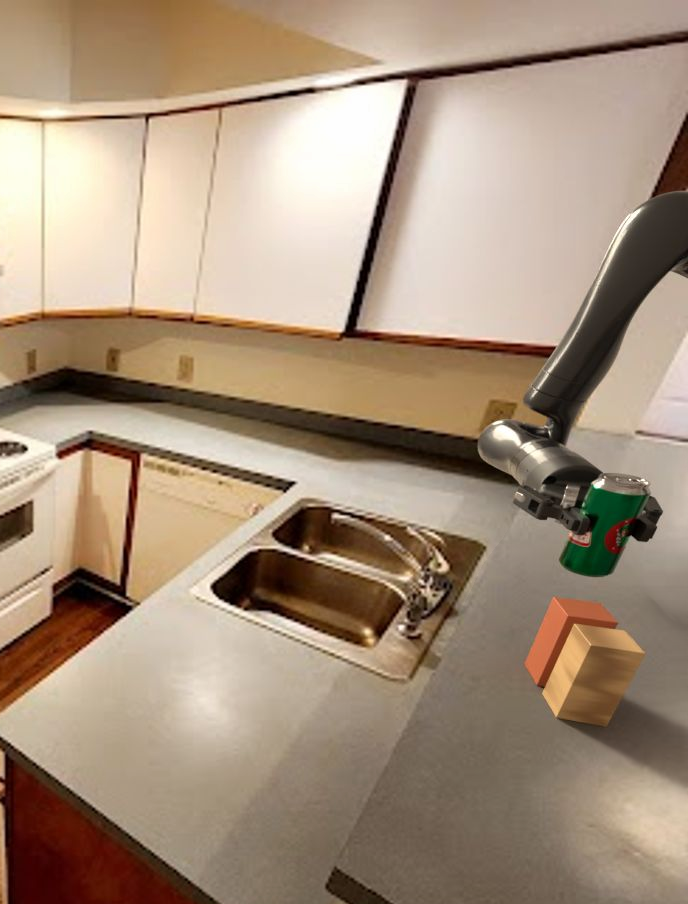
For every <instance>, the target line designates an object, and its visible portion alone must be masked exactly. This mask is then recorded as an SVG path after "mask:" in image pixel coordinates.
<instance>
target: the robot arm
mask: <svg viewBox="0 0 688 904" xmlns="http://www.w3.org/2000/svg"><path fill="white" fill-rule="evenodd" d="M669 272H673V273H675V274H676V275H680V276H681V277H684V278H686V279H688V190H675V191H670V192H669V191H668V192H664V193H662V194H658V195H656V196H654V197H652V198H649V199H648V200H646V201H644V202H642V203H640V204H639V205H638V206H637V207H636V208H635V209H633V210H632V211H631V212H630V213H629V214H628V215H627V216H626V217H625V219H624V220H623V221H622V223H621V224H620V226H619V228H618V230H617V231H616V233H615V235H614V237H613V239H612V240H611V242H610V245H609V246H608V249H607V250H606V253H605V255H604V257H603V259H602V262H601V264H600V265H599V269H598V270H597V273H596V275H595V277H594V279H593V281H592V282H591V284H590V287H589V289H588V291H587V292H586V294H585V296H584V298H583V300H582V302H581V304H580V306H579V308H578V310H577V311H576V313H575V316H574V317H573V319H572V321H571V323H570V325H569V327H568V328H567V330H566V331H565V333H564V335H563V336H562V338H561V339H560V340H559V342H558V344H557V345H556V347H555V349H554V350H553V352H552V354H551V355H550V356H549V358H548V359H547V360H546V361H545V364H543V367H541V368H540V371H539V372H538V374H537V375H536V377H535V378H534V380H532V382H531V383H530V385H529V387H528V388H527V389H526V390H525V393H524V394H523V397H522V403H523V404H524V406H525V407H526V408H528V409H529V410H530V411H532V412H535V413H537V414H539V415H541V416H543V417H545V418H547V420H546V422H544V425H539V424H534V423H531V422H530V423H529V422H524V421H520V420H515V419H510V418H509V419H507V418H506V419H505V418H504V419H499V420H496V421H493V422H492V423H489V424H488V425H487V426H486V427H485V428H484V429H483V430H482V431H481V433H480V434H479V436H478V439H477V444H476V445H477V453H478V455H479V457H480V458H481V459H482V460H483V461H484V462H485V463H487V464H488V465H491V466H492V467H493V468H496V469H497V470H500V471H502V472H504V473H506V474H508V475H510V476H512V477H513V478H514V480H516V481H517V482H518V486H517V489H516V492H515V494H514V497H513V500H512V504H513V505H515V506H516V507H518V508H519V509H521V510H522V511H524V512H525V513H527V514H528V515H530V516H532V518H535V519H536V520H539V521H548V518H549V519H553V520H554V521H553V522H554V523H556V524H559V525H562V526H563V527H564V529H567V530H568V531H569V532H570V531H572V532H573V533H574V534H575V535H582V536H583V535H585V533H586V530H587V528H588V526H589V524H590V519H589V518H588V517H587V516H586V515H585V514H584V513H583V512H582V511H581V510H580V508H581V505H582V503H583V501H584V498H585V496H586V493H587V491H588V489H589V486H590V484H591V482H593V481H594V480H596V479H597V478H598V476H599V475H600V474H603V473H604V472H603V471H602V470H600V469H599V467H597V466H595V465H594V464H593V463H591V462H590V461H589V460H587V459H586V458H585V457H584V456H582V455H581V454H580V453H577V452H575V451H572V450H571V449H570V448H568V447H567V444H568V441H569V438H570V435H571V433H572V429H573V427H574V424H575V422H576V420H577V419H578V416H579V414H580V412H581V410H582V408H583V406H584V405H585V404H586V403H587V401H588V400H589V399H590V397H591V396H592V395H593V393H594V392H595V391H596V389H597V388H598V387H599V385H600V384H601V383H602V382H603V380H604V379H605V378H606V376H607V375H608V373H609V372H610V370H611V368H612V367H613V365H614V362H615V361H616V360H617V358H618V355H619V352H620V350H621V347H622V344H623V342H624V339H625V336H626V333H627V332H628V329H629V326H630V324H631V322H632V320H633V318H634V317H635V315H636V313H637V312H638V310H639V308H640V307H641V306H642V304H643V303H644V301H645V299H647V297H648V296H649V295H650V294H651V293H652V291H653V290H654V289H655V288H656V287H657V285H658V284H659V283H660V282H661V281H662V280H663V279H664V278H665V277H666V276H667V275H668V274H669ZM663 513H664V510H663V509H662V507H661V505H660V503H659V502H658V500H657V498H656V497H655V496H652V495H650V496H649V498H648V501H647V503H646V505H645V507H644V509H643V511H642V513H641V515H640V518H639V520H638V522H637V524H636V526H635V528H634V530H633V532H632V534H631V537H632V539H635V541H636V542H640V543H648V542H649V541H650V540H652V539H653V538H654V536H655V534H656V531H657V530H658V526H657V524H658V522H659V520H660V518H661V517H662V515H663Z"/></svg>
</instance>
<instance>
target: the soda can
mask: <svg viewBox="0 0 688 904" xmlns="http://www.w3.org/2000/svg"><path fill="white" fill-rule="evenodd" d="M650 486H651V482H650V481H649V480H647V479H645V478H642V477H641V476H635V475H633V474H632V475H631V474H627V473H626V474H625V473H619V472H603V474H600V475H599V476H598V478H597V479H596V480H594V481H593V482H591V484H590V486H589V489H588V491H587V493H586V496H585V498H584V501H583V503H582V505H581V508H580V510H581V511H582V512H583V513H584V514H585V515H586V516H587V517H588V518H589V519H590V524H589V526H588V528H587V530H586V533H585V535H583V536H582V535H575V534H574V533H573V532H572V531H570V530H569V534H568V535H567V538H566V541H565V543H564V546H563V547H562V550H561V552H560V555H559V557H558V562H559V564H560V565H561V567H562V568H563V569H565V570H566V571H569V572H571V573H573V574H576V575H578V576H583V577H587V578H588V577H589V578H605V577H608V576H610V575H612V574H613V573H614V572H615V570H616V568H617V566H618V564H619V562H620V559H621V558H622V555H623V553H624V551H625V550H626V547H627V545H628V543H629V541H630V539H631V537H632V536H631V534H632V532H633V530H634V528H635V526H636V524H637V522H638V520H639V518H640V515H641V513H642V511H643V509H644V507H645V505H646V503H647V501H648V498H649V496H651V494H652V492H651V491H652V490H651V489H650Z"/></svg>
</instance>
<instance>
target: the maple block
mask: <svg viewBox="0 0 688 904" xmlns="http://www.w3.org/2000/svg"><path fill="white" fill-rule="evenodd" d="M645 655H646V652H645V651H644V650H643V648H641V647H640V646H639V644H638V643H637V642H636V641H635V640H634V639H633V638H632V636H631V635H630V634H629V633H628V632H627V631H626V630H622V629H616V628H615V629H609V628H602V627H595V626H588V625H581V624H574V625H573V627H572V629H571V631H570V634H569V636H568V638H567V640H566V642H565V645H564V647H563V649H562V651H561V653H560V656H559V658H558V660H557V662H556V664H555V666H554V669H553V671H552V673H551V675H550V677H549V680H548V682H547V684H546V686H545V687H544V689H543V690H542V692H541V694H542V697H543V698H544V699H545V701H546V703H547V704H548V706H549V708H550V709H551V711H552V713H553V714H554V717H555V718H556V719H561V720H566V721H573V722H577V723H582V724H586V725H587V724H588V725H593V726H598V727H604V728H607V727H608V725H609V723H610V722H611V719H612V717H613V716H614V713H615V712H616V710H617V708H618V706H619V704H620V703H621V701H622V699H623V697H624V695H625V693H626V691H627V689H628V687H629V686H630V684H631V682H632V680H633V678H634V676H635V674H636V672H637V670H638V668H639V666H640V665H641V663H642V661H643V659H644V657H645Z"/></svg>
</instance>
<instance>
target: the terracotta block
mask: <svg viewBox="0 0 688 904" xmlns="http://www.w3.org/2000/svg"><path fill="white" fill-rule="evenodd" d="M618 623H619V622H618V621H617V620H616V619H615V617H614V616H613V615H612V614H611V613H610V612H609V611H608V610H607V609H606V607H605V606H604V605H603V604H602V603H601V602H596V601H595V602H594V601H587V600H579V599H574V598H573V599H572V598H565V597H557V596H553V597H552V599H551V602H550V603H549V606H548V609H547V611H546V613H545V615H544V618H543V620H542V622H541V625H540V627H539V629H538V632H537V633H536V635H535V638H534V641H533V643H532V645H531V648H530V650H529V652H528V654H527V657H526V659H525V662H524V666H525V668H526V669H527V671H528V674H529V675H530V676H531V678H532V680H533V681H534V682H535V685H536V686H539V687H544V688H545V686H546V684H547V682H548V680H549V677H550V675H551V673H552V671H553V669H554V666H555V664H556V662H557V660H558V658H559V656H560V653H561V651H562V649H563V647H564V645H565V642H566V640H567V638H568V636H569V634H570V631H571V629H572V627H573V625H574V624H581V625H588V626H595V627H602V628H609V629H616V628H617V627H618Z"/></svg>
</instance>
